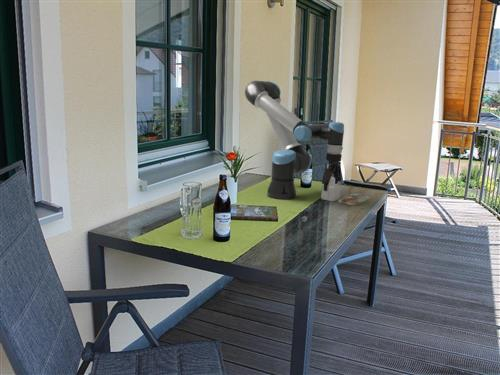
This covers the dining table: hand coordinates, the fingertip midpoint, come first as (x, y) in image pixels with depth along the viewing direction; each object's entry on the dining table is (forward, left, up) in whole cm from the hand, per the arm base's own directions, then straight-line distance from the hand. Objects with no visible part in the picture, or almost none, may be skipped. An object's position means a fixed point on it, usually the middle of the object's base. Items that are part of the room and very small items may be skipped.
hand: (330, 194), depth 253 cm
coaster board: (+10, +6, -2) cm, 12 cm away
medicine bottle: (0, 0, -2) cm, 2 cm away
